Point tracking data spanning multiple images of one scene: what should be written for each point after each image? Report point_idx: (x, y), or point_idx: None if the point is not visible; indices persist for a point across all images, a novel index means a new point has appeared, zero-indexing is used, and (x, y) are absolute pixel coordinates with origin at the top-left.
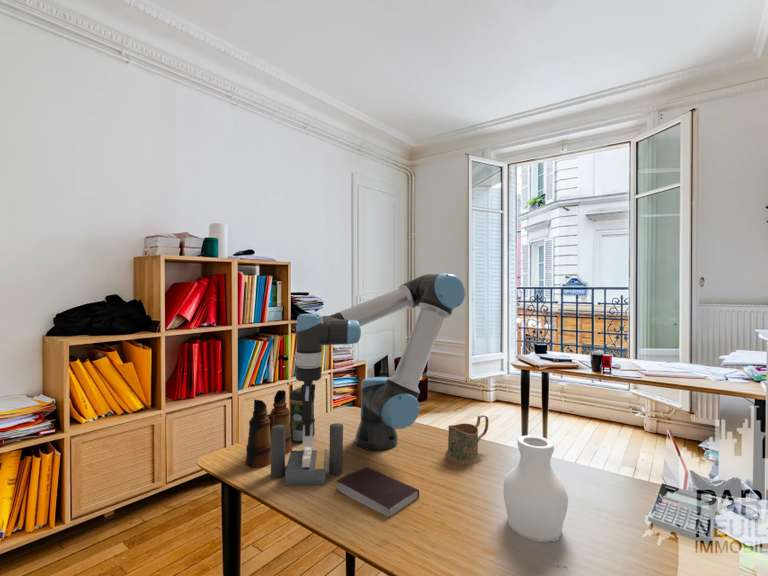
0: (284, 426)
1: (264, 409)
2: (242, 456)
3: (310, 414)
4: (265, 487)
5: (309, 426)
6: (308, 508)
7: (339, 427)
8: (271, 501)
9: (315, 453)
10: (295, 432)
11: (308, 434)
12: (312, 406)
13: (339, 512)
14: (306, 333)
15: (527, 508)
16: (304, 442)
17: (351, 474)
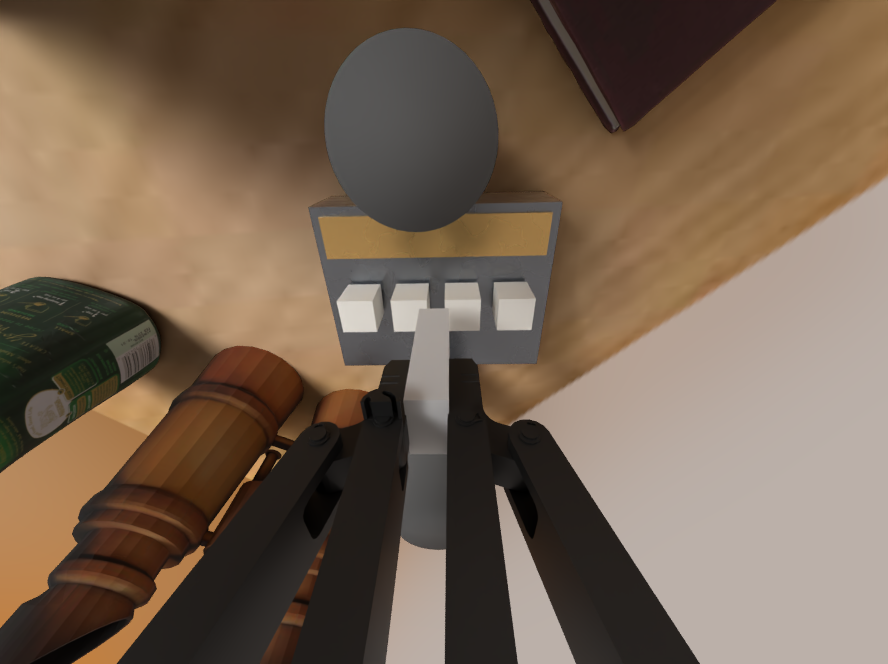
0: (427, 512)
1: (289, 641)
2: None
3: (613, 539)
4: (521, 382)
5: (482, 409)
6: (703, 245)
7: (484, 96)
8: (609, 357)
9: (364, 264)
10: (129, 368)
11: (476, 372)
12: (333, 558)
13: (800, 111)
14: None
15: None
16: (449, 357)
17: (590, 25)
